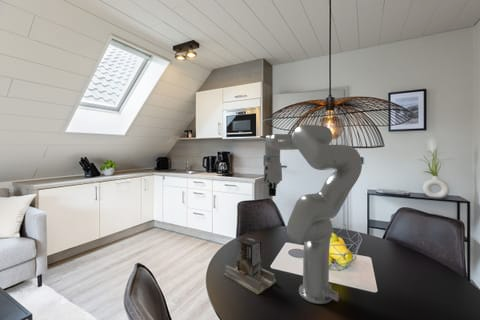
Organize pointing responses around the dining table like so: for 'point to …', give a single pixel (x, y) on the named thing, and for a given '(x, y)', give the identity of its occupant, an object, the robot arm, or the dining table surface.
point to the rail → (251, 279)
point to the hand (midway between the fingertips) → (272, 195)
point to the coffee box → (249, 257)
